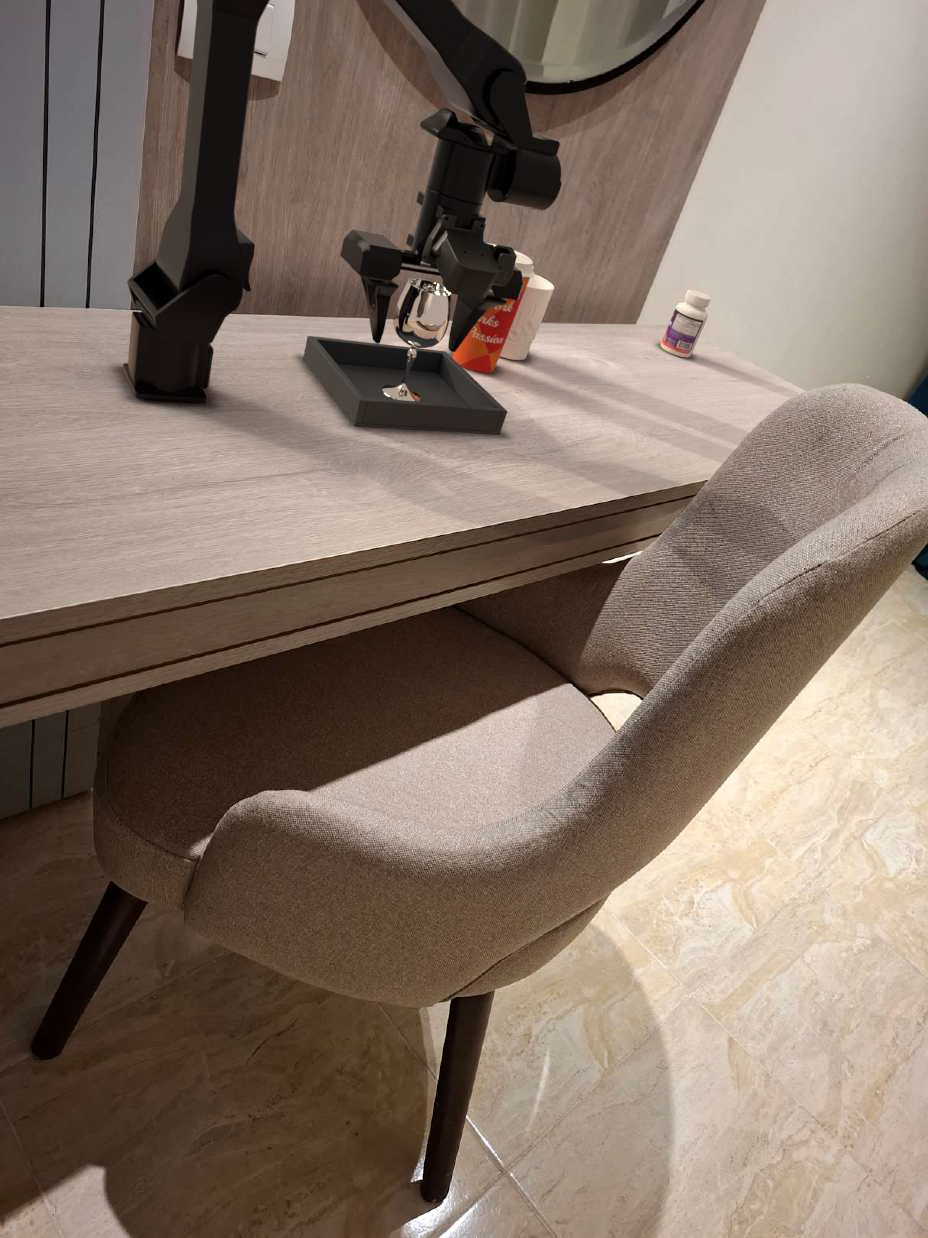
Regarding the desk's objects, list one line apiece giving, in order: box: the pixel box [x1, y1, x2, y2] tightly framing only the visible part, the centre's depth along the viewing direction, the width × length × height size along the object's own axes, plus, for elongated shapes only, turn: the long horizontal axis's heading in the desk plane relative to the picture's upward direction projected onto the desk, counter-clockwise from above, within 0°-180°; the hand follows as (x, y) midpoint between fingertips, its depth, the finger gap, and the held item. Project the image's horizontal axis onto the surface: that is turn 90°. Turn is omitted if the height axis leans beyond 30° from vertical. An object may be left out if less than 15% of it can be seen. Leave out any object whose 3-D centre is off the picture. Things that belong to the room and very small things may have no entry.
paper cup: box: [452, 242, 536, 374], centre depth 112 cm, size 8×8×14 cm
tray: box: [302, 335, 508, 435], centre depth 99 cm, size 18×16×3 cm
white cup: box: [499, 274, 555, 361], centre depth 121 cm, size 8×8×10 cm
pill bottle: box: [660, 289, 712, 358], centre depth 148 cm, size 5×5×10 cm
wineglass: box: [382, 277, 452, 402], centre depth 96 cm, size 6×6×12 cm
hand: (414, 346), depth 97 cm, fingers open, 9 cm apart
